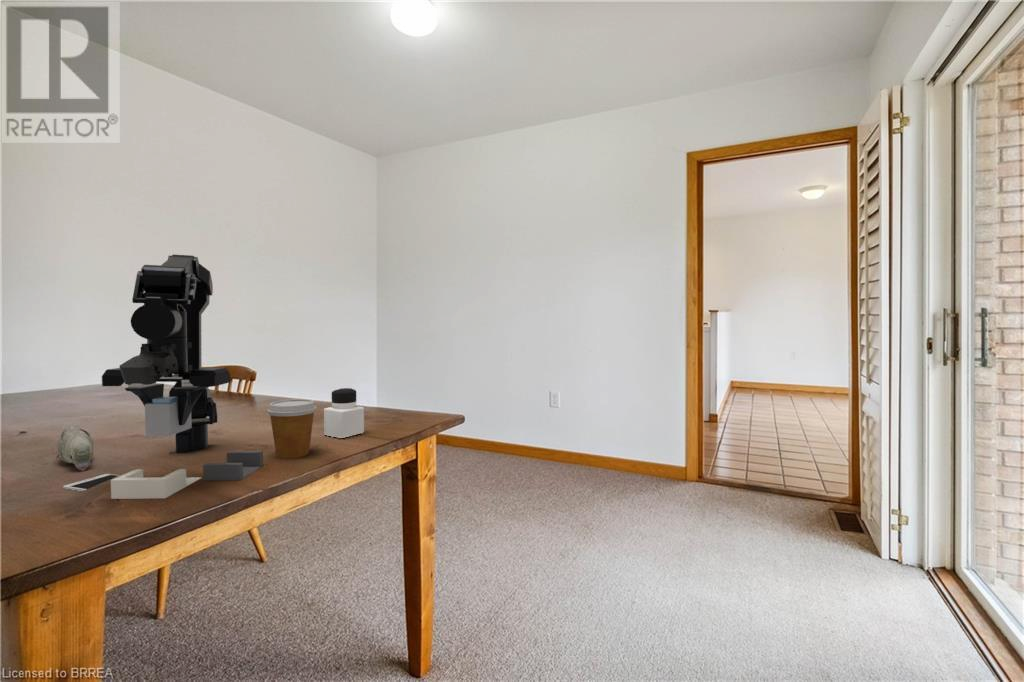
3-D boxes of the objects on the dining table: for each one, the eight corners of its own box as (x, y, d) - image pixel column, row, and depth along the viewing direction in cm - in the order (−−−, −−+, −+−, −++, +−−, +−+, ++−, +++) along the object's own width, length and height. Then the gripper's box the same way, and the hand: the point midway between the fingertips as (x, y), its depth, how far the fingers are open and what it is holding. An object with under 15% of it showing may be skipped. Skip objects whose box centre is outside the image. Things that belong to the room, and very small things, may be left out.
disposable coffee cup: (326, 453, 106) (325, 400, 105) (295, 466, 97) (295, 407, 96) (290, 450, 109) (289, 397, 108) (257, 462, 99) (256, 405, 99)
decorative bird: (64, 475, 90) (63, 437, 90) (53, 459, 101) (52, 424, 100) (101, 469, 94) (100, 432, 94) (87, 453, 105) (86, 420, 105)
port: (154, 482, 87) (154, 461, 87) (202, 481, 87) (201, 461, 87) (111, 503, 77) (110, 480, 77) (165, 502, 77) (164, 479, 77)
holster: (230, 468, 95) (230, 450, 95) (263, 468, 95) (263, 450, 95) (203, 484, 86) (202, 464, 86) (239, 484, 86) (239, 464, 86)
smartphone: (125, 501, 79) (125, 495, 79) (61, 490, 83) (61, 485, 83) (167, 487, 86) (167, 481, 86) (106, 477, 90) (106, 473, 90)
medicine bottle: (364, 434, 124) (364, 388, 124) (341, 439, 118) (341, 391, 117) (346, 430, 128) (346, 386, 127) (323, 435, 122) (323, 389, 121)
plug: (169, 427, 87) (168, 394, 87) (191, 427, 88) (190, 394, 87) (145, 436, 81) (144, 400, 81) (169, 436, 82) (169, 400, 81)
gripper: (71, 338, 75) (75, 436, 76) (193, 340, 76) (196, 436, 77) (125, 336, 86) (127, 421, 87) (231, 337, 87) (232, 421, 88)
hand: (169, 425), depth 84 cm, fingers closed on plug, 4 cm apart
